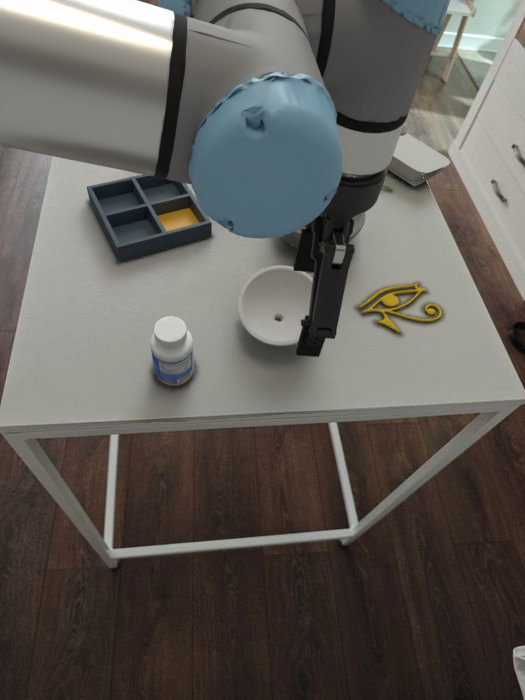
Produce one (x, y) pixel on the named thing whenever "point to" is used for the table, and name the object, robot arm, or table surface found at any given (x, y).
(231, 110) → the robot arm
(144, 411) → the table surface
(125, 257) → the grid
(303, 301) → the dish
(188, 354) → the pill bottle
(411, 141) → the book
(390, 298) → the decorative symbol
